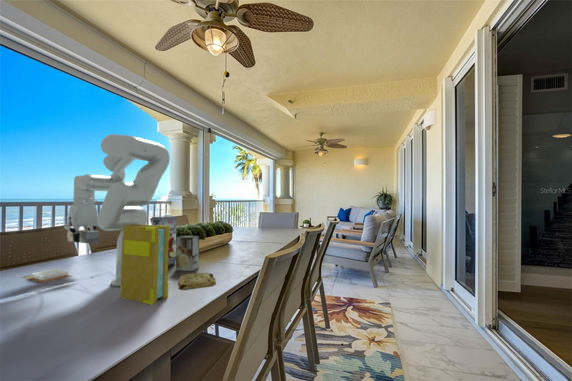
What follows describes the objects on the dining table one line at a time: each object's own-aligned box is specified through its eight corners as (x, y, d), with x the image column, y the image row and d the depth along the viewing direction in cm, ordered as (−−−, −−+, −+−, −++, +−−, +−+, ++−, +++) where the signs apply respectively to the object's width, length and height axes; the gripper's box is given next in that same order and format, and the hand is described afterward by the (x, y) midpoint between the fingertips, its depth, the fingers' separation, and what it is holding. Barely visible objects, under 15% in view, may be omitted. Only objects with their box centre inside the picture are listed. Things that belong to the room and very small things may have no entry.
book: (168, 296, 84) (170, 225, 85) (151, 304, 77) (154, 227, 78) (133, 290, 89) (135, 224, 90) (115, 297, 83) (117, 225, 84)
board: (72, 279, 101) (72, 276, 101) (40, 287, 92) (41, 283, 92) (52, 274, 108) (52, 270, 109) (20, 280, 99) (20, 277, 99)
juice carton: (147, 267, 119) (149, 214, 120) (165, 262, 129) (166, 213, 130) (160, 270, 116) (162, 214, 117) (177, 264, 125) (179, 213, 127)
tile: (56, 273, 105) (67, 276, 101) (30, 278, 98) (42, 282, 94) (56, 268, 105) (67, 271, 101) (31, 273, 98) (42, 276, 94)
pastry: (164, 287, 94) (165, 279, 94) (196, 274, 110) (196, 268, 110) (199, 293, 88) (199, 285, 88) (227, 279, 104) (227, 272, 104)
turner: (98, 242, 108) (99, 231, 108) (88, 243, 105) (88, 232, 105) (77, 239, 116) (77, 229, 116) (67, 241, 112) (67, 230, 112)
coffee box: (199, 267, 120) (200, 235, 121) (192, 271, 114) (193, 237, 114) (182, 266, 122) (183, 235, 122) (175, 270, 115) (175, 237, 116)
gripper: (99, 202, 120) (98, 238, 119) (56, 202, 105) (55, 243, 104) (108, 202, 117) (107, 239, 116) (65, 202, 102) (64, 245, 101)
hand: (82, 241), depth 110 cm, fingers closed on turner, 4 cm apart
